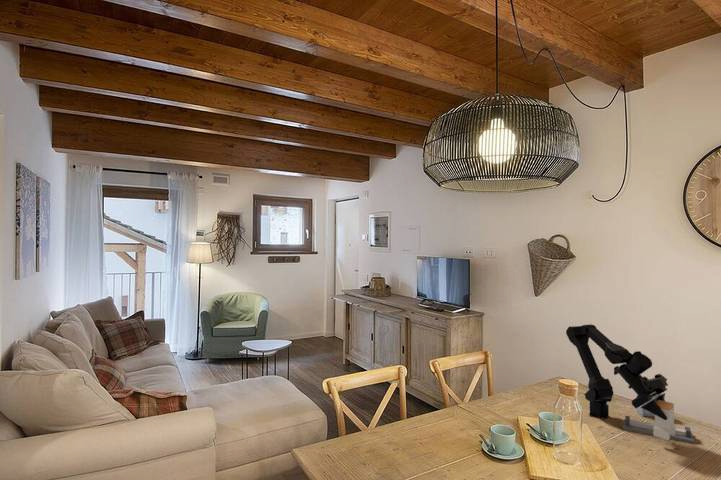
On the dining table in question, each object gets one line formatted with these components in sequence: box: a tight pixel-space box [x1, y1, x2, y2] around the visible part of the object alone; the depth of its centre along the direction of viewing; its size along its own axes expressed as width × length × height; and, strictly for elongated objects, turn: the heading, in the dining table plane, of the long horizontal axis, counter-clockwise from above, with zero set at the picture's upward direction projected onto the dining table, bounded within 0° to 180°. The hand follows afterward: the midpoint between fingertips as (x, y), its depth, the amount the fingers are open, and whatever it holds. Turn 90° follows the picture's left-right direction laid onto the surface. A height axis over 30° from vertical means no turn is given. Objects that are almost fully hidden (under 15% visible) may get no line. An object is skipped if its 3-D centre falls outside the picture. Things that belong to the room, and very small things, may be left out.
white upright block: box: [652, 400, 677, 441], centre depth 150 cm, size 4×8×12 cm, turn 126°
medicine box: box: [636, 394, 655, 417], centre depth 176 cm, size 8×4×9 cm, turn 84°
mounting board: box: [622, 415, 695, 444], centre depth 160 cm, size 22×8×3 cm, turn 56°
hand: (668, 417), depth 149 cm, fingers closed on white upright block, 4 cm apart
